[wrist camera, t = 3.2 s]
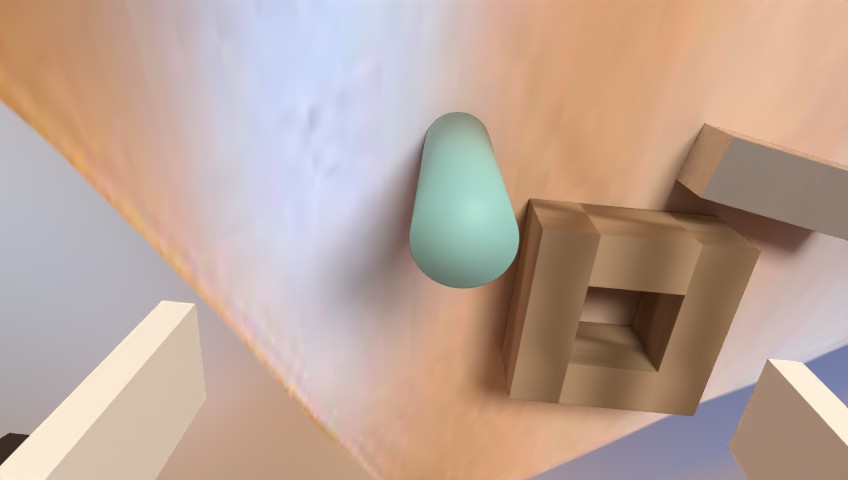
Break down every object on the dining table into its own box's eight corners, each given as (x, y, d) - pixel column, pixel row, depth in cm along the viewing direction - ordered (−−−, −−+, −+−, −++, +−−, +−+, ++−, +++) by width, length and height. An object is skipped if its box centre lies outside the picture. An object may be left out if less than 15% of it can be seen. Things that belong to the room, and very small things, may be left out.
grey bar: (674, 177, 32) (700, 197, 29) (702, 122, 30) (733, 136, 27) (818, 220, 33) (860, 244, 29) (853, 167, 31) (901, 186, 28)
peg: (422, 173, 32) (405, 283, 19) (427, 109, 30) (413, 183, 18) (485, 179, 32) (510, 292, 19) (494, 115, 30) (528, 194, 18)
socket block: (501, 351, 38) (509, 398, 33) (529, 198, 32) (543, 229, 28) (663, 366, 38) (693, 416, 33) (717, 216, 32) (760, 250, 28)
